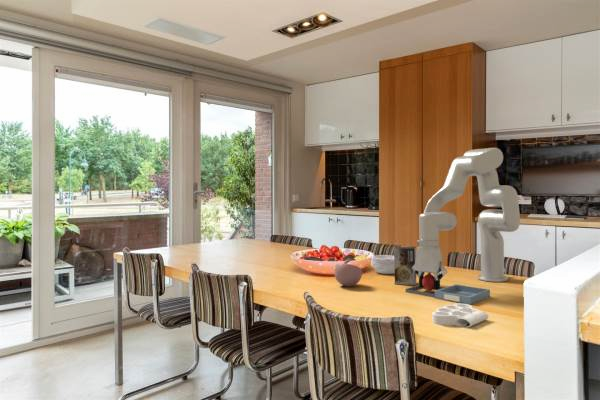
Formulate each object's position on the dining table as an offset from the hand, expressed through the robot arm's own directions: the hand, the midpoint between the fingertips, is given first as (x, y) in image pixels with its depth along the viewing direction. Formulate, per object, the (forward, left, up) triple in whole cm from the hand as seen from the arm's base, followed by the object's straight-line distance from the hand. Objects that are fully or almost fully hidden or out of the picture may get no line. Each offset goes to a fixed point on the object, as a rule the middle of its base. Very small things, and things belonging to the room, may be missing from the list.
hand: (429, 287), depth 177 cm
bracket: (0, 0, -2) cm, 2 cm away
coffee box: (-7, -16, -2) cm, 18 cm away
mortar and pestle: (+14, -31, -2) cm, 34 cm away
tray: (0, +14, -2) cm, 14 cm away
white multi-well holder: (+27, +26, -2) cm, 38 cm away
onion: (0, 0, -2) cm, 2 cm away
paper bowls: (-22, -37, -2) cm, 43 cm away
